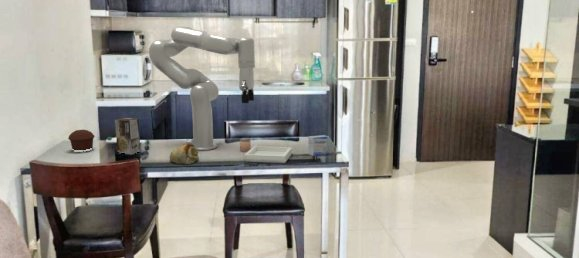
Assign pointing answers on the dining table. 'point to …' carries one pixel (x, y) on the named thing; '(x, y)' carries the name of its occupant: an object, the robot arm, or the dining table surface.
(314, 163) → the dining table surface
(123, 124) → the coffee box
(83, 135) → the muffin
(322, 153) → the medicine box
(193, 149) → the pastry
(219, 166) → the dining table surface
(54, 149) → the dining table surface
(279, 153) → the tray
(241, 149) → the shaker
